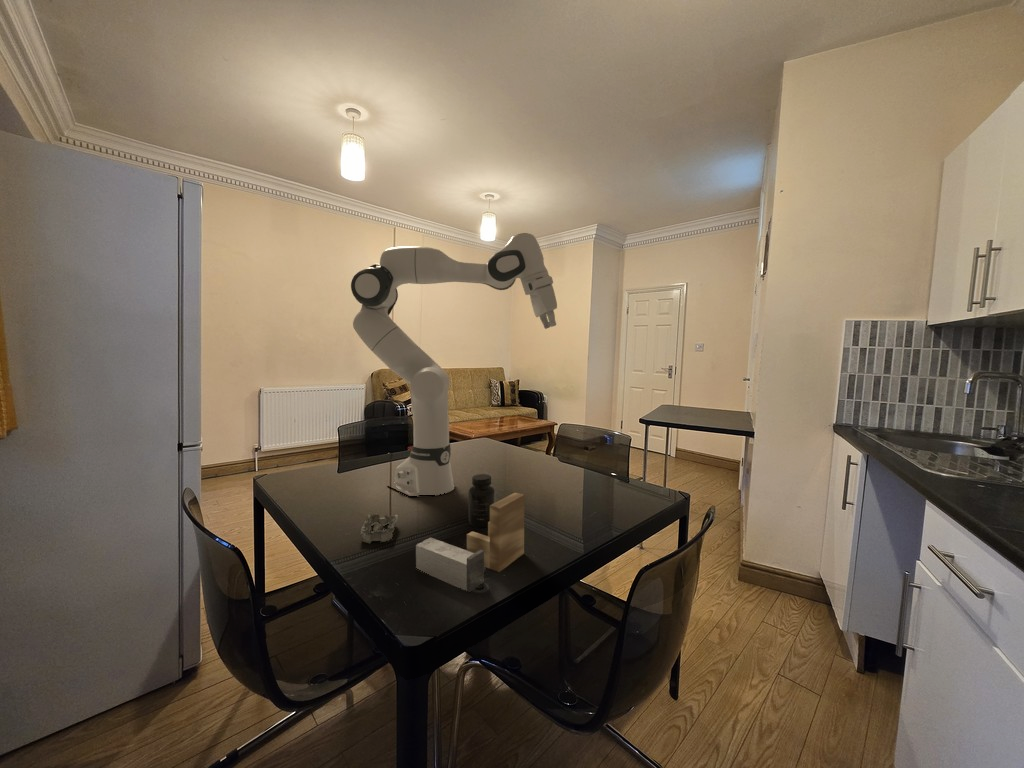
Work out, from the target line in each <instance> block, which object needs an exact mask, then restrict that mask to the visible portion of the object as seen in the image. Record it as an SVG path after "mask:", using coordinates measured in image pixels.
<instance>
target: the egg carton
mask: <svg viewBox="0 0 1024 768" xmlns="http://www.w3.org/2000/svg"><path fill="white" fill-rule="evenodd" d="M398 519H399V514H391V515H388V514H384V517H380V515H379V514H378V513H372V511H369V512H368V513H367V515H366V518H365V521H364V522H363V525H362V527H361V530H360V536H361V537H362V538H364V539H366V540H367V541H370V540H372V539H374V538H379V539H381V540H382V541H384V540H387V539H389V538H392V537H393V535H394V534H392V532H394V530H395V528H394V526H396V527H397V521H398ZM374 522H378V523H379V524H381V525H378V524H375V525H374V526H373V527H371V524H372V523H374ZM388 522H390V524H389V525H387V529H385V528H384V527H383V524H386V523H388ZM369 529H371V532H370V531H369ZM384 529H385V530H384Z"/></svg>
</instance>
